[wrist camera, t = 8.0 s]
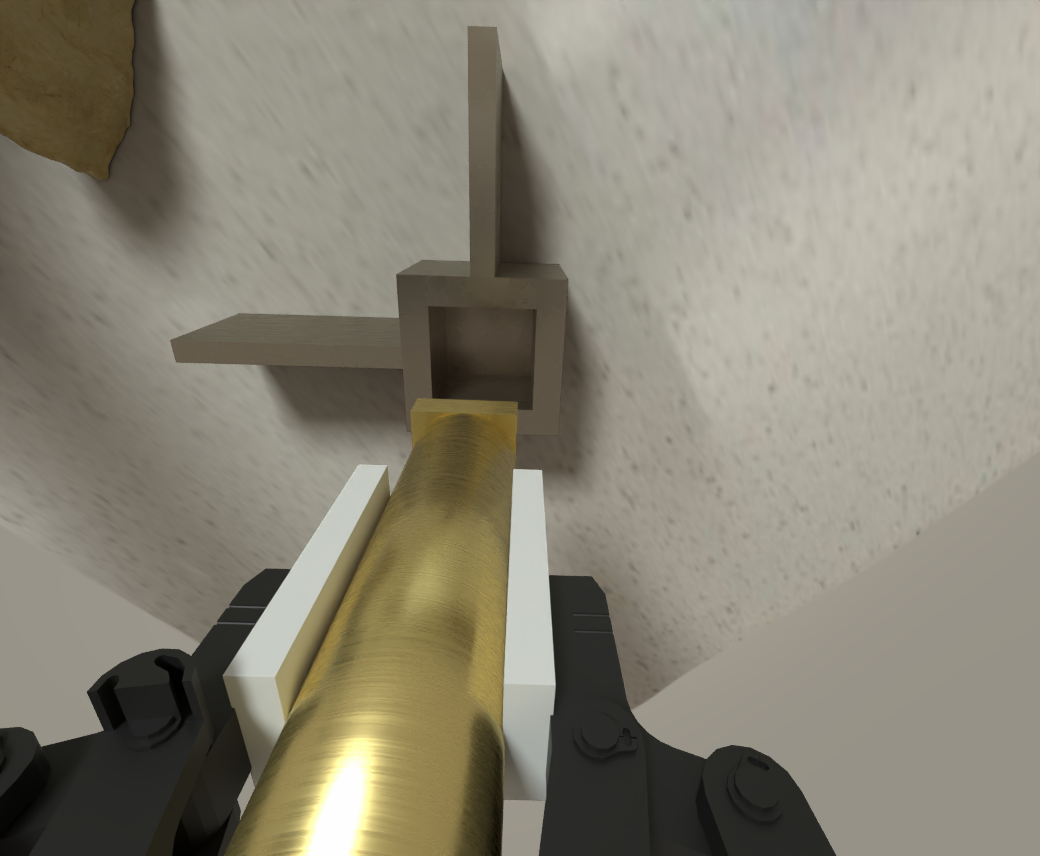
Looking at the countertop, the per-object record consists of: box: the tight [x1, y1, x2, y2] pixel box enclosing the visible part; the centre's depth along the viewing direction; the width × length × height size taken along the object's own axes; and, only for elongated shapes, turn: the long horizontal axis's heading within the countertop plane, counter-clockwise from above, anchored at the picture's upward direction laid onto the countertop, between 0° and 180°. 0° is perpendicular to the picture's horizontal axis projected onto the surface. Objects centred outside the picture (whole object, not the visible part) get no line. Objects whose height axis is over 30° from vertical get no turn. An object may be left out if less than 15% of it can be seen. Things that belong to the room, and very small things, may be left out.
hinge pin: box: [224, 398, 518, 856], centre depth 10 cm, size 4×4×16 cm
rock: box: [0, 0, 135, 180], centre depth 24 cm, size 11×9×10 cm
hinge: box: [170, 26, 568, 436], centre depth 28 cm, size 20×18×7 cm
